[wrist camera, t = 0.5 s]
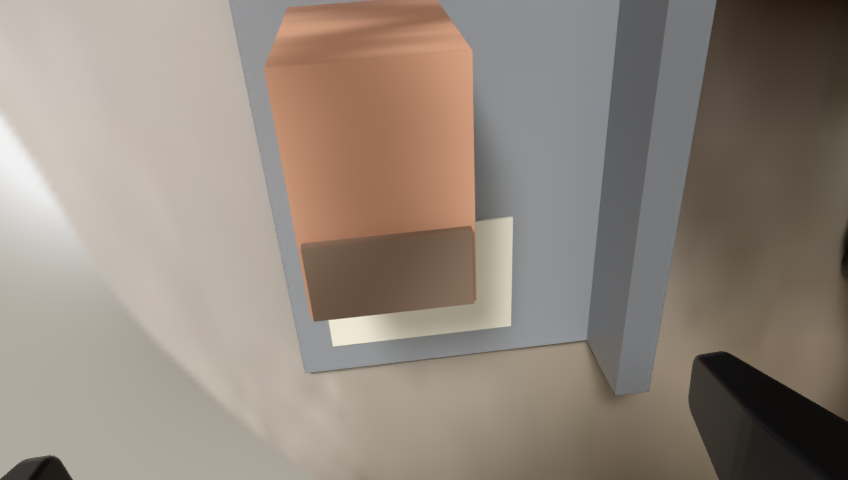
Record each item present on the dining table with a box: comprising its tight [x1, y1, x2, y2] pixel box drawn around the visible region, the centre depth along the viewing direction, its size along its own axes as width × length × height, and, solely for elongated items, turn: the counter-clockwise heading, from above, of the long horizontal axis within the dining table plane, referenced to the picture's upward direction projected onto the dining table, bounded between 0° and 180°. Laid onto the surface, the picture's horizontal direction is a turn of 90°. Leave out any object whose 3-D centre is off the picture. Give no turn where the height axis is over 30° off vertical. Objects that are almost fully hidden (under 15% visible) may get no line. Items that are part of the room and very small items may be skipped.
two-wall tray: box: [229, 0, 716, 396], centre depth 18 cm, size 12×18×3 cm, turn 3°
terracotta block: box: [264, 0, 477, 322], centre depth 16 cm, size 4×6×6 cm, turn 4°
